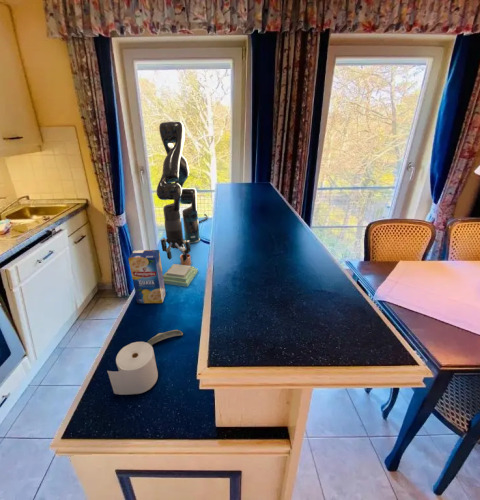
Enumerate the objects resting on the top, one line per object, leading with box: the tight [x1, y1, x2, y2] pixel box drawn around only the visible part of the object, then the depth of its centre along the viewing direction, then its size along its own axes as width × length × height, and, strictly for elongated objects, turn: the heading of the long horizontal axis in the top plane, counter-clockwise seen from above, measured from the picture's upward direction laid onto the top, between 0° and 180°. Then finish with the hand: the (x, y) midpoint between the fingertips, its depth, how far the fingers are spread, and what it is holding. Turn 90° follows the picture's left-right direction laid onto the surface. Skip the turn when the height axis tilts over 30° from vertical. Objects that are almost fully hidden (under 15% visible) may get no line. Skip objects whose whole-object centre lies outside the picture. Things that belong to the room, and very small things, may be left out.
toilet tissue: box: [106, 341, 159, 396], centre depth 83 cm, size 11×12×10 cm
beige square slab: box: [165, 263, 192, 277], centre depth 136 cm, size 9×9×2 cm
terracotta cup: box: [179, 253, 192, 266], centre depth 148 cm, size 6×6×5 cm
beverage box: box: [127, 249, 167, 304], centre depth 118 cm, size 7×11×22 cm, turn 88°
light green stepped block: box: [163, 263, 199, 288], centre depth 137 cm, size 14×14×4 cm
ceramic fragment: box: [146, 329, 184, 346], centre depth 100 cm, size 14×5×4 cm, turn 113°
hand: (177, 259), depth 133 cm, fingers open, 7 cm apart
